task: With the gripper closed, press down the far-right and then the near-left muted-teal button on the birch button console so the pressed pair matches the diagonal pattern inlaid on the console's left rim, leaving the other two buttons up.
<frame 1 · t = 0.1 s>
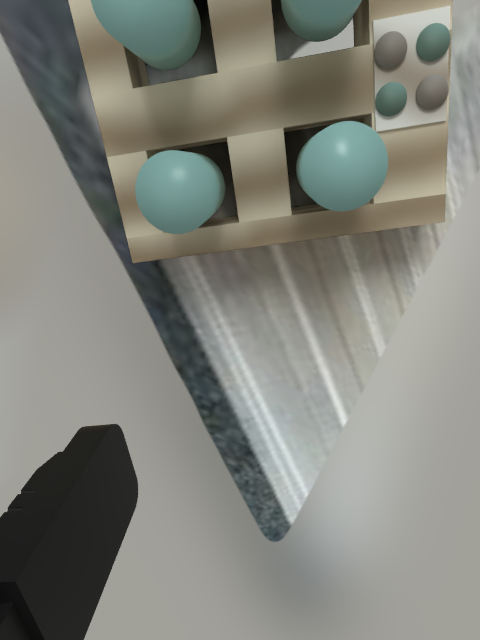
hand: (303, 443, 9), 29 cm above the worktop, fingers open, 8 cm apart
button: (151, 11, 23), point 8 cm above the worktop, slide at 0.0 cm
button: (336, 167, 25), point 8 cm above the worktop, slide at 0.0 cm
console: (266, 107, 32), on the worktop
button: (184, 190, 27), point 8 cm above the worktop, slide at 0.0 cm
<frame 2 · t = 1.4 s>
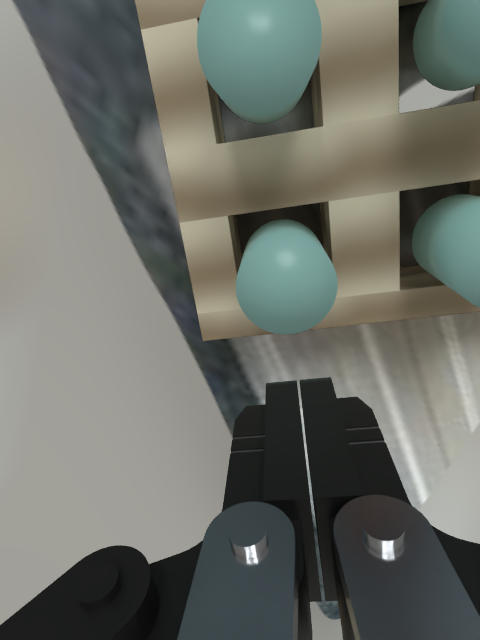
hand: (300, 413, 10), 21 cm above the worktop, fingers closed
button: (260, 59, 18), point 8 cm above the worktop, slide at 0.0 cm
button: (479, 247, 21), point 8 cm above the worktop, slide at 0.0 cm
console: (361, 157, 27), on the worktop
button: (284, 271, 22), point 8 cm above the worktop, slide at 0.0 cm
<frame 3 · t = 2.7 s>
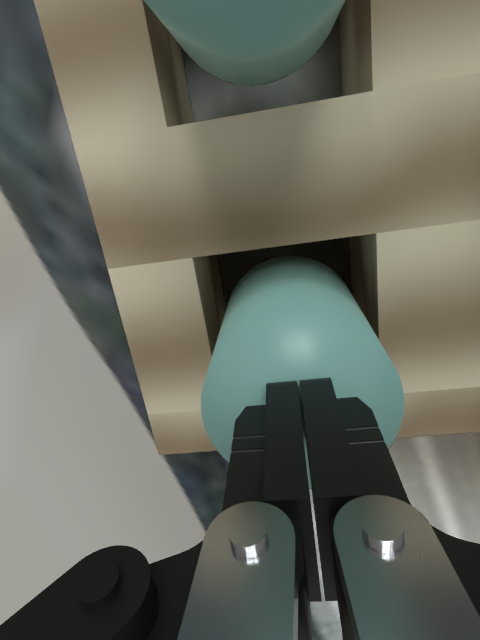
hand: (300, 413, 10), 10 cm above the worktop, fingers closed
console: (421, 152, 16), on the worktop
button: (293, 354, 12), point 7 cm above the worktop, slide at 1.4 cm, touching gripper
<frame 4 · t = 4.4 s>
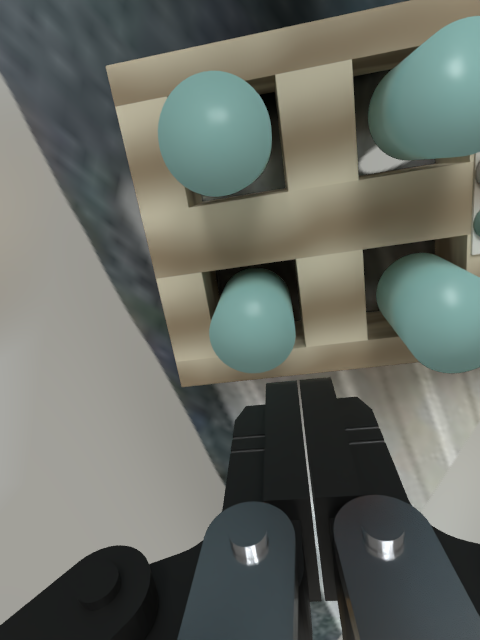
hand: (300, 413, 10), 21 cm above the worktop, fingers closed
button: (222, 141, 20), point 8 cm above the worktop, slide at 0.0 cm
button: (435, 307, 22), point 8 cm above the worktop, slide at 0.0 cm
console: (331, 210, 28), on the worktop
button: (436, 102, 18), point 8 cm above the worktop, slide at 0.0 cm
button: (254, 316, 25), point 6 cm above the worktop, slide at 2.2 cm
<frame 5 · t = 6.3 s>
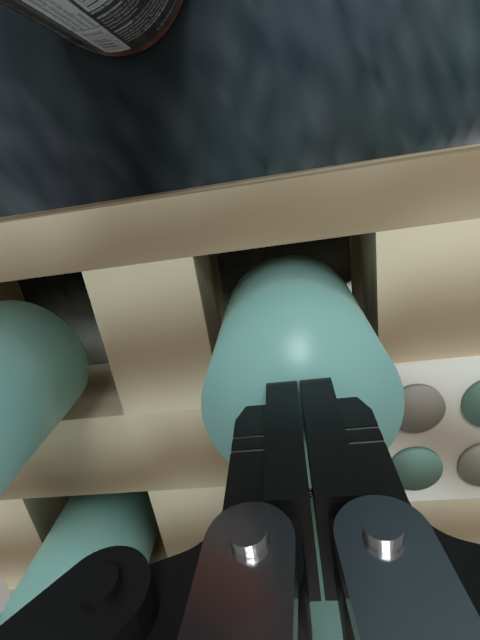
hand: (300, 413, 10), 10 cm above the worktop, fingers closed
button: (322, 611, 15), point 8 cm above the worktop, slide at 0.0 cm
console: (220, 385, 21), on the worktop
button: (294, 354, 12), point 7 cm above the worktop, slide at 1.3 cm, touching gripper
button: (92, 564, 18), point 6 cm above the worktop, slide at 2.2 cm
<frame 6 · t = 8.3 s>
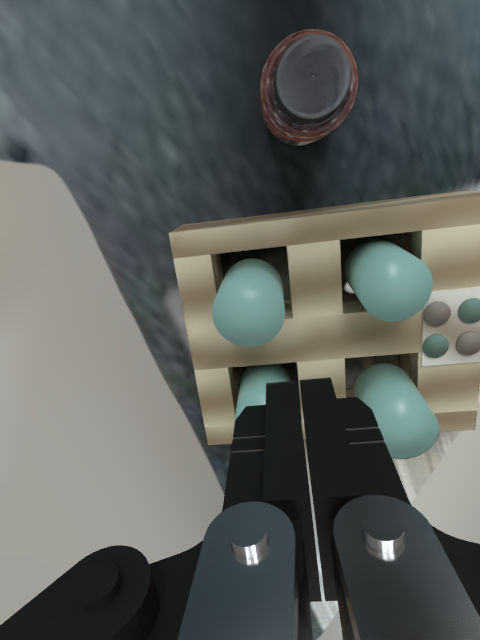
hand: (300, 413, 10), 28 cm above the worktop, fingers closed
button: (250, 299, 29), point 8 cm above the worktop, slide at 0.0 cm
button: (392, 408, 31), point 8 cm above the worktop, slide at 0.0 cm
console: (324, 316, 38), on the worktop
supplement bottle: (298, 106, 32), on the worktop
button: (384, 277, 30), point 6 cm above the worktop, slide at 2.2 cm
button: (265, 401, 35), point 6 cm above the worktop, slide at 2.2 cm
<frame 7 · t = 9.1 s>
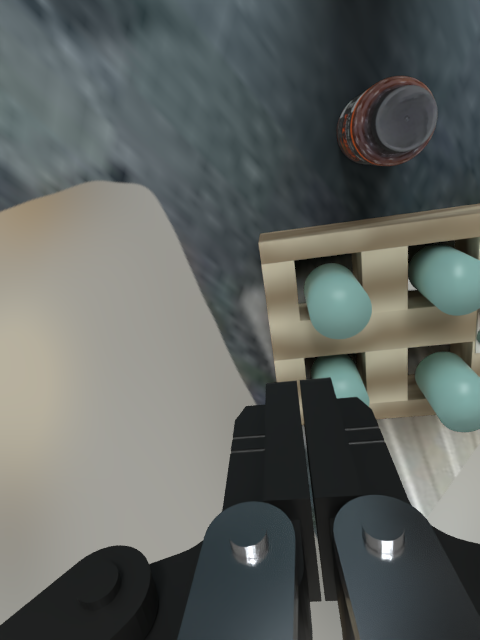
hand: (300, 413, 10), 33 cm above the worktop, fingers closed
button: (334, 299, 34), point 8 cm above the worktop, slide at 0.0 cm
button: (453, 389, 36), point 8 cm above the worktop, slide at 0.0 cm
console: (383, 311, 43), on the worktop
supplement bottle: (367, 130, 37), on the worktop
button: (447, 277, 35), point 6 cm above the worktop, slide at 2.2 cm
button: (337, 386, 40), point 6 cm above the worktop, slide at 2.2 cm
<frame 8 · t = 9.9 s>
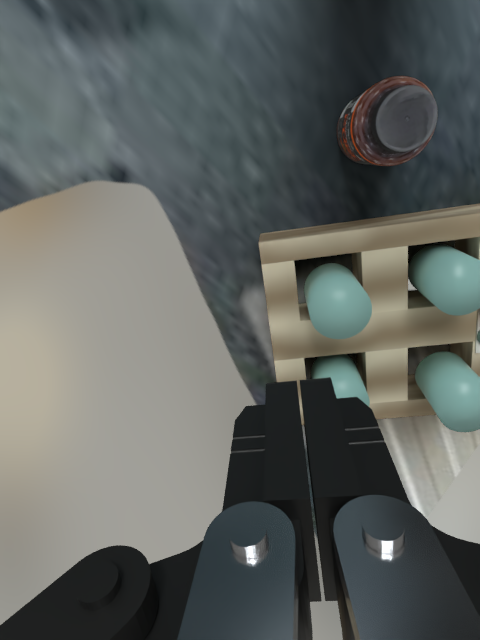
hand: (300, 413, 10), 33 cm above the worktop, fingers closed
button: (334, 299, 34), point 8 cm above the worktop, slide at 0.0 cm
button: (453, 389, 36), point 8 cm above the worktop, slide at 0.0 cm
console: (383, 311, 43), on the worktop
supplement bottle: (367, 130, 37), on the worktop
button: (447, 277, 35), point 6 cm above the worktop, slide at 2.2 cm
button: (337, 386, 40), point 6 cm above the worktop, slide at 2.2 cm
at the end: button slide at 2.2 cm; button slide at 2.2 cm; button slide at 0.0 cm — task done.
